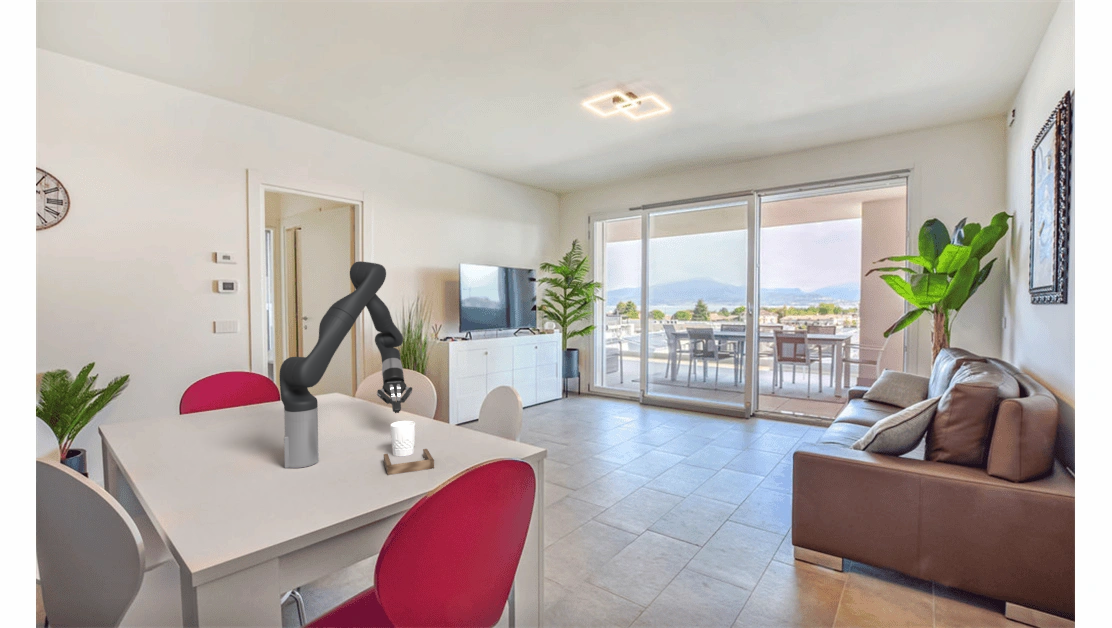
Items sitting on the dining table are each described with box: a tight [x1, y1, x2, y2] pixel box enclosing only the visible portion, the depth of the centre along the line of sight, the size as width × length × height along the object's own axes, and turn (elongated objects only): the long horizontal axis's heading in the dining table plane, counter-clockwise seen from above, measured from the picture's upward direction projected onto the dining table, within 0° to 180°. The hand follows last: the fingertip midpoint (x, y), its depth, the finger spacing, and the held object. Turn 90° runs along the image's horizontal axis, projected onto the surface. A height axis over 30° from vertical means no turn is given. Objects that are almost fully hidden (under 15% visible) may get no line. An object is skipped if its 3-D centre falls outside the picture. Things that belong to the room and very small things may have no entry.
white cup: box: [390, 420, 416, 458], centre depth 164 cm, size 8×8×10 cm
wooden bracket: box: [383, 448, 435, 476], centre depth 153 cm, size 13×12×2 cm
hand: (397, 411), depth 177 cm, fingers closed
